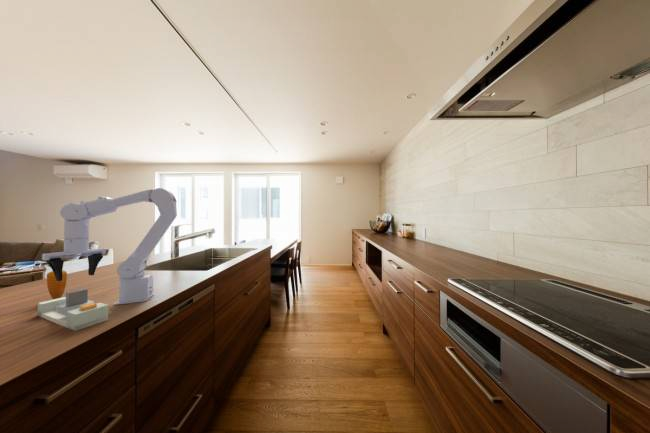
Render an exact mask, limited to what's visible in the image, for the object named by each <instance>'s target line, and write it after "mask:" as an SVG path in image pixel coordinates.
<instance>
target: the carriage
mask: <svg viewBox="0 0 650 433" xmlns="http://www.w3.org/2000/svg"><path fill="white" fill-rule="evenodd" d="M88 293H89V292H88V289H87V288H81V289H77V290H71V291H66V292H65V297H66V304H64V305H60V306H58V313H59V314H62V315H65V316H67V311H71V310H75V309H78V308H80V306H81V305H85V304H89V303H95V304H96V301H94V300H90V299H88V298H89V296H88Z"/></svg>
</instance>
